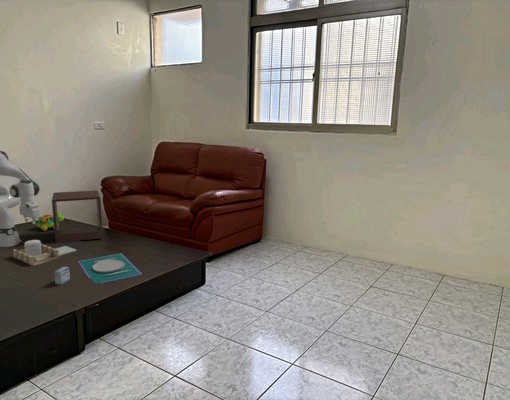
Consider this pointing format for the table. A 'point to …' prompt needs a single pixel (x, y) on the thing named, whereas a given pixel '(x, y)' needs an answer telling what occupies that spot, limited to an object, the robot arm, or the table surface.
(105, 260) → the place mat
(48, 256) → the birch offcut
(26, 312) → the table surface
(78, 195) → the storage cube
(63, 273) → the medicine box
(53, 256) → the frame
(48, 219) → the turtle toy
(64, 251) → the sage board
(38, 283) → the table surface
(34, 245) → the photo printer
